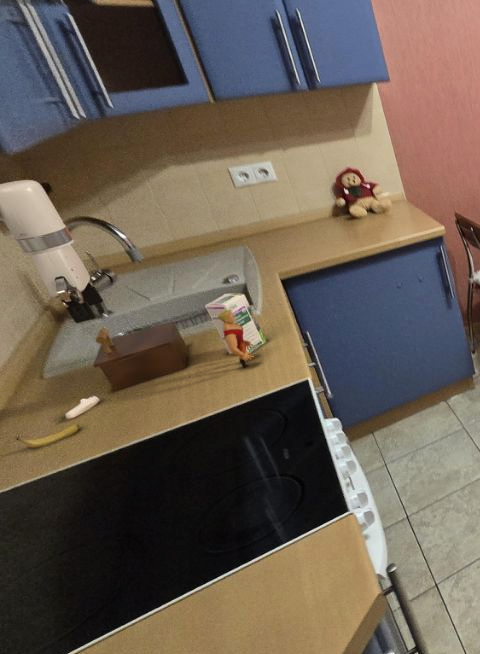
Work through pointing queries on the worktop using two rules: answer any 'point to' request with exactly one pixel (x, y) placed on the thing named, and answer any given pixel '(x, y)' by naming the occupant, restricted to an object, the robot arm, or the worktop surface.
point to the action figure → (235, 337)
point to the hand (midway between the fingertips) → (90, 312)
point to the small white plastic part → (82, 407)
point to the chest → (147, 364)
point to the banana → (49, 437)
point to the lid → (132, 343)
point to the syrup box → (237, 318)
